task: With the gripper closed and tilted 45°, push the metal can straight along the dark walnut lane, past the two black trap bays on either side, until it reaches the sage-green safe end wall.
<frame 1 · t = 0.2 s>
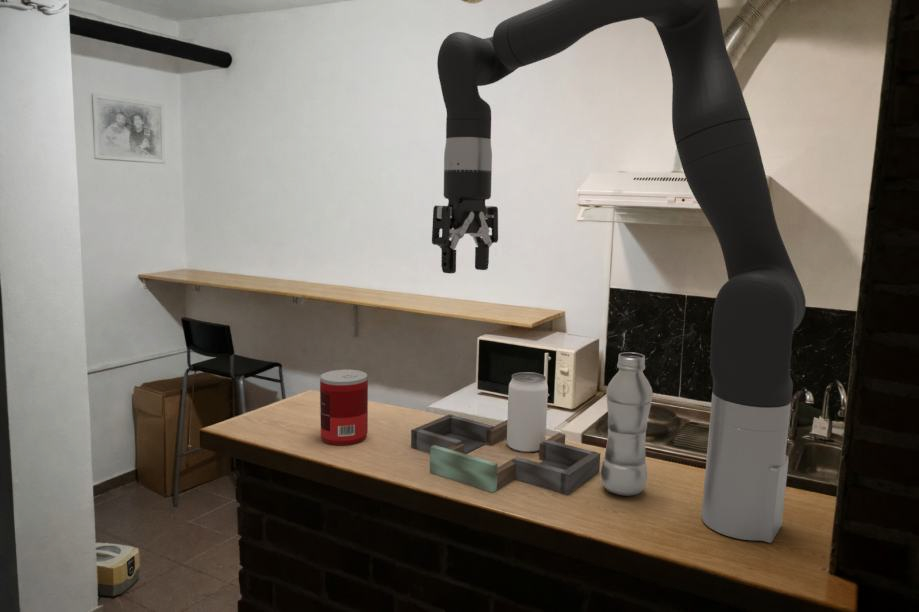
hand: (465, 271, 112), 29 cm above the counter, tool pointing down, fingers open, 8 cm apart
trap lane: (501, 459, 111), on the counter
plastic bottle: (622, 492, 100), on the counter
can: (525, 447, 117), on the counter
canned food: (344, 438, 119), on the counter
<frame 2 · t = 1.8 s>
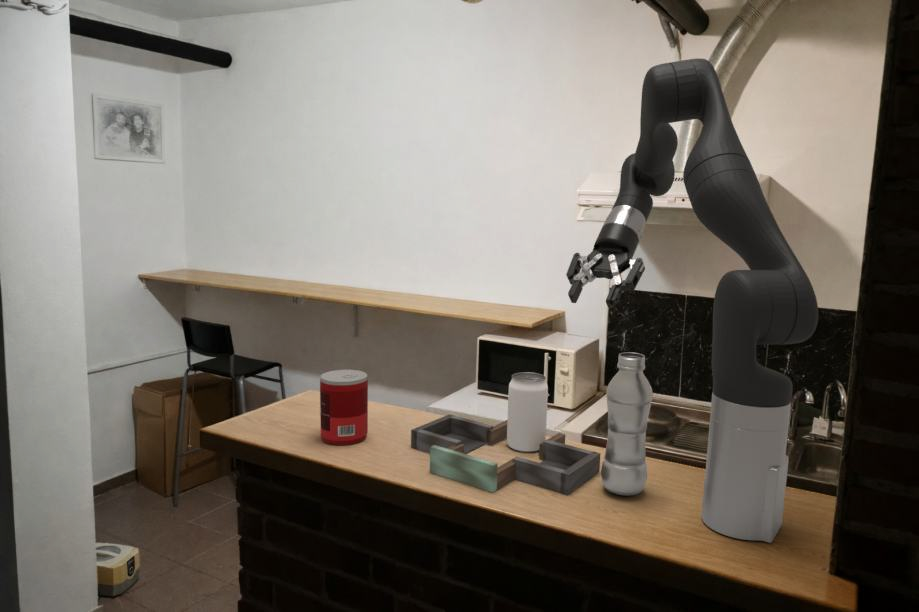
hand: (590, 302, 126), 22 cm above the counter, tool tilted 45°, fingers open, 6 cm apart
nothing on the counter moved.
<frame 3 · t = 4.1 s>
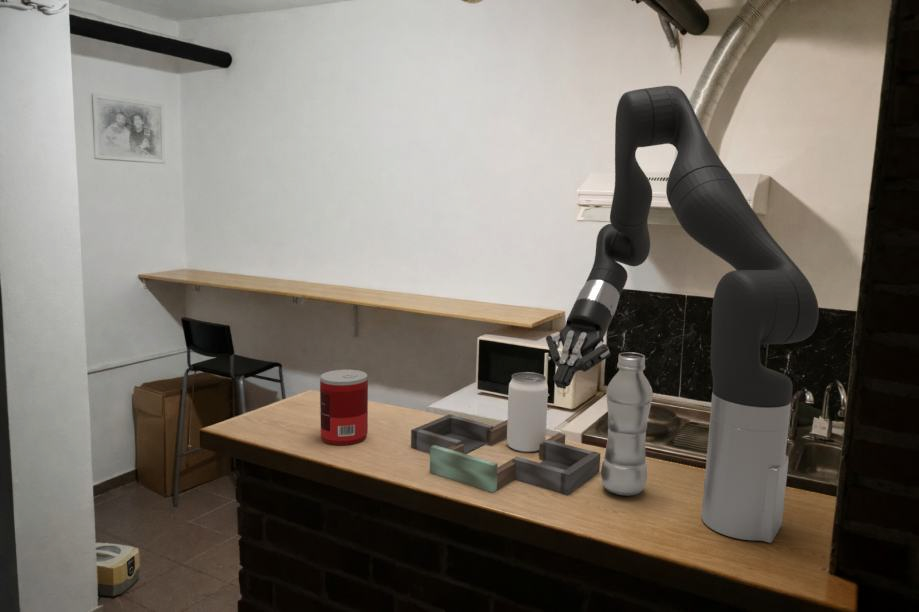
hand: (559, 385, 124), 8 cm above the counter, tool tilted 45°, fingers closed
nothing on the counter moved.
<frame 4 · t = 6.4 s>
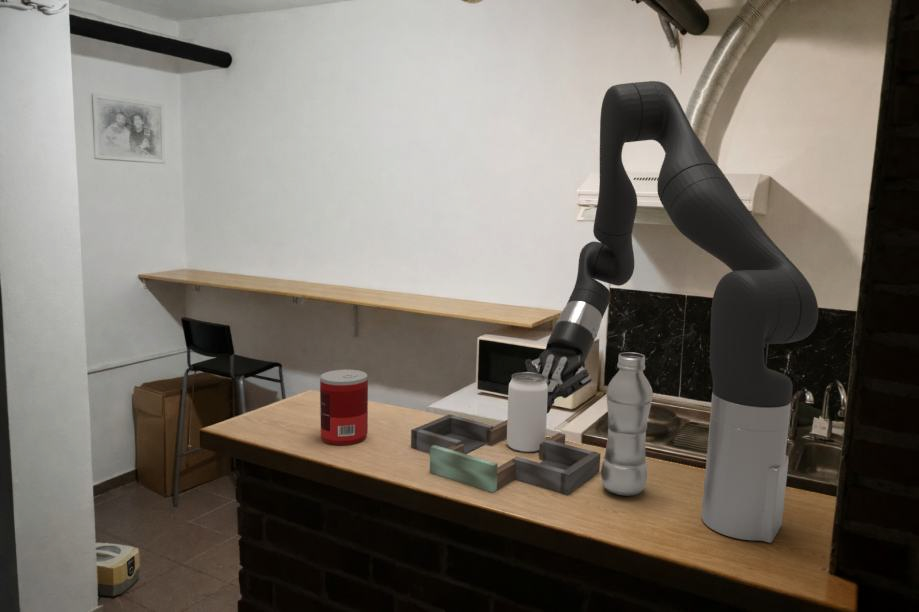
hand: (538, 413, 119), 5 cm above the counter, tool tilted 45°, fingers closed
can: (525, 447, 117), on the counter, touching gripper
everything else where it was.
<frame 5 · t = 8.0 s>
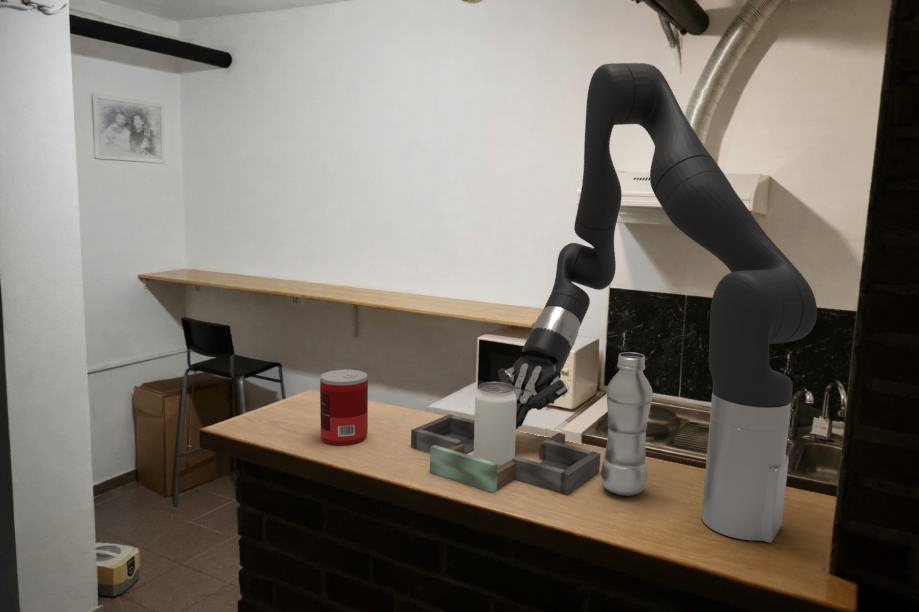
hand: (510, 426, 112), 5 cm above the counter, tool tilted 45°, fingers closed
can: (493, 461, 110), on the counter, touching gripper
everything else where it was.
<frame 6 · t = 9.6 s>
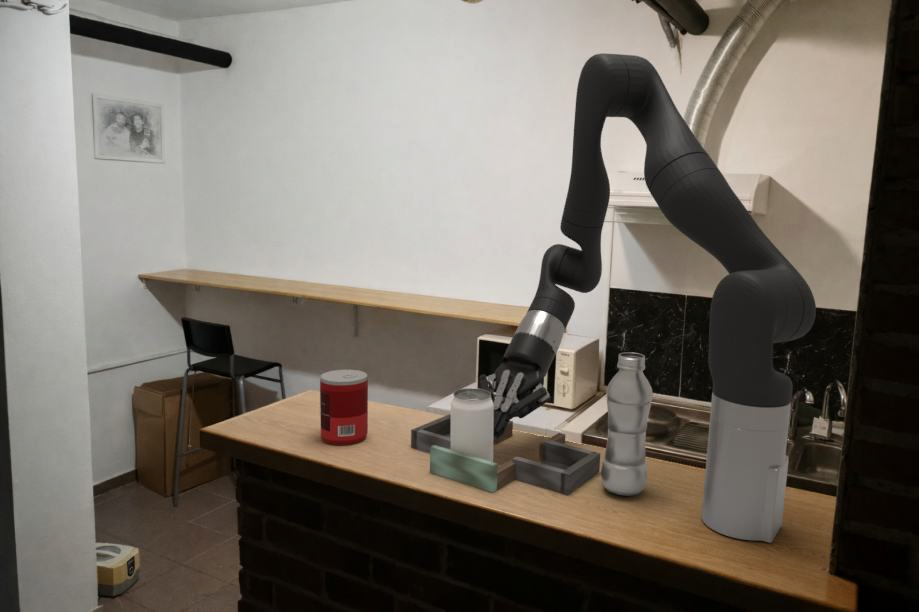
hand: (491, 435, 108), 5 cm above the counter, tool tilted 45°, fingers closed
can: (471, 470, 107), on the counter, touching gripper, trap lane
everything else where it was.
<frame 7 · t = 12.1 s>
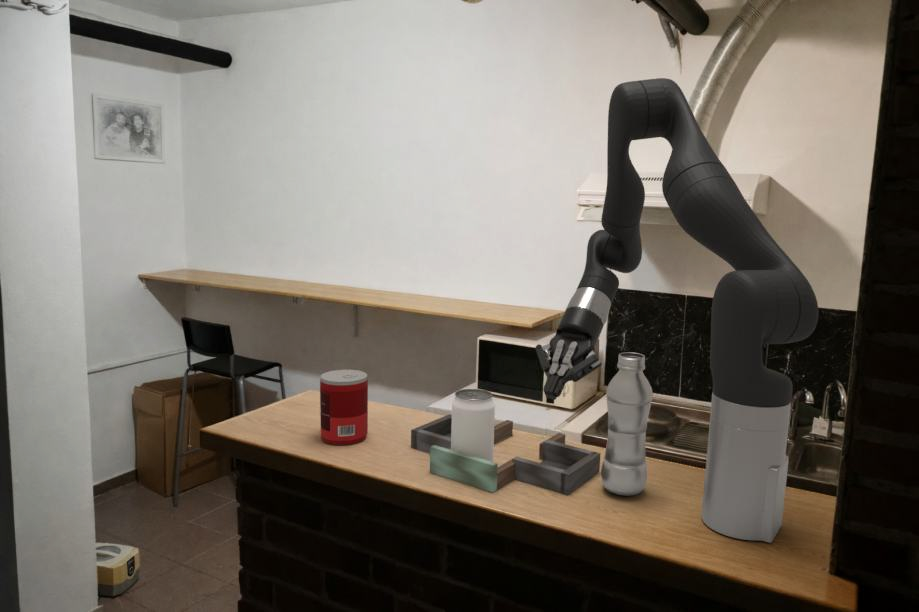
hand: (549, 396, 121), 7 cm above the counter, tool tilted 45°, fingers closed
can: (471, 470, 107), on the counter
everything else where it was.
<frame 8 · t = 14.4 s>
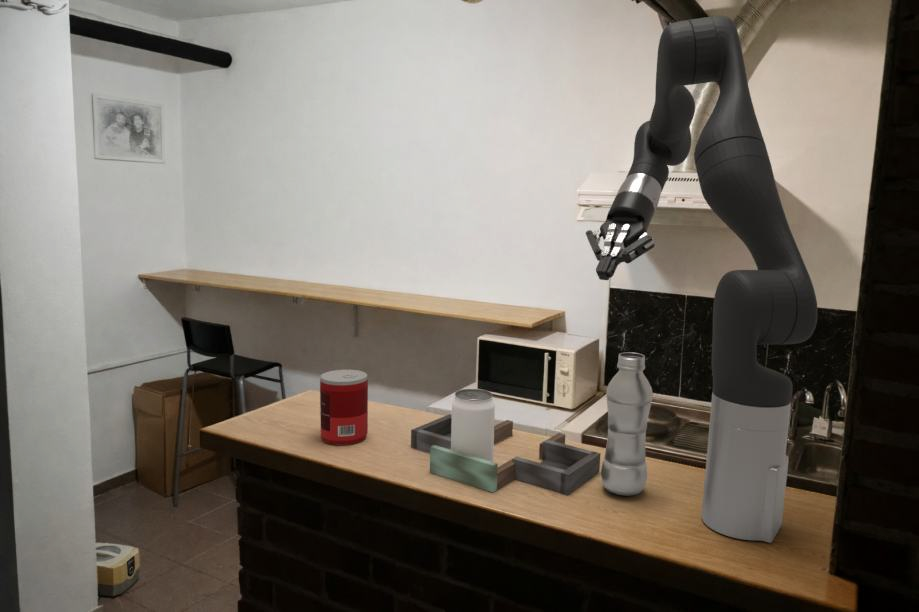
hand: (602, 276, 119), 28 cm above the counter, tool tilted 45°, fingers closed
nothing on the counter moved.
at the end: can inside the target area (1.6 cm from its centre), on the counter; can tilted 0°; the gripper is holding nothing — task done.
